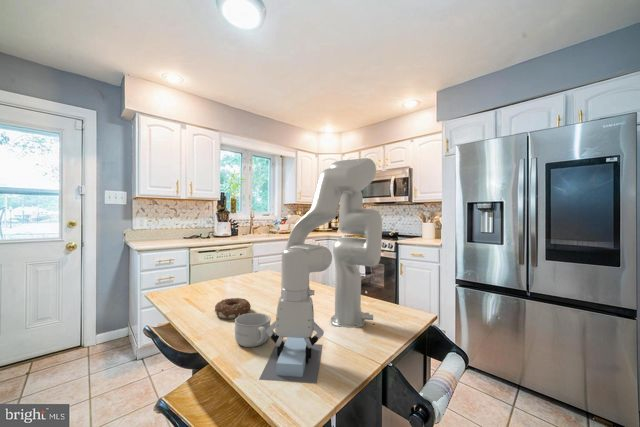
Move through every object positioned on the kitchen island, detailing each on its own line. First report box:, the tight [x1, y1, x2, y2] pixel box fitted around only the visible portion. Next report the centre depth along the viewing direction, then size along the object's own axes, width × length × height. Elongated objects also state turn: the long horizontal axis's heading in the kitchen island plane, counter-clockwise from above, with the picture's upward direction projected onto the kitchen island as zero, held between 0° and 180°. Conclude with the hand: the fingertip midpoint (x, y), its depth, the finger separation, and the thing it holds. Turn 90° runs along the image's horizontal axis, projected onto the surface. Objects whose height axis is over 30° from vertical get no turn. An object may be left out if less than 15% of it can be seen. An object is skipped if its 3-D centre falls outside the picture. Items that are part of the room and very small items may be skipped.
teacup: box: [234, 312, 272, 348], centre depth 81 cm, size 14×11×8 cm
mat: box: [259, 342, 323, 384], centre depth 72 cm, size 14×18×1 cm
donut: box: [214, 297, 252, 320], centre depth 106 cm, size 14×14×5 cm
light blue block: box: [276, 337, 307, 377], centre depth 72 cm, size 6×14×3 cm, turn 175°
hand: (294, 358), depth 72 cm, fingers closed on light blue block, 6 cm apart
